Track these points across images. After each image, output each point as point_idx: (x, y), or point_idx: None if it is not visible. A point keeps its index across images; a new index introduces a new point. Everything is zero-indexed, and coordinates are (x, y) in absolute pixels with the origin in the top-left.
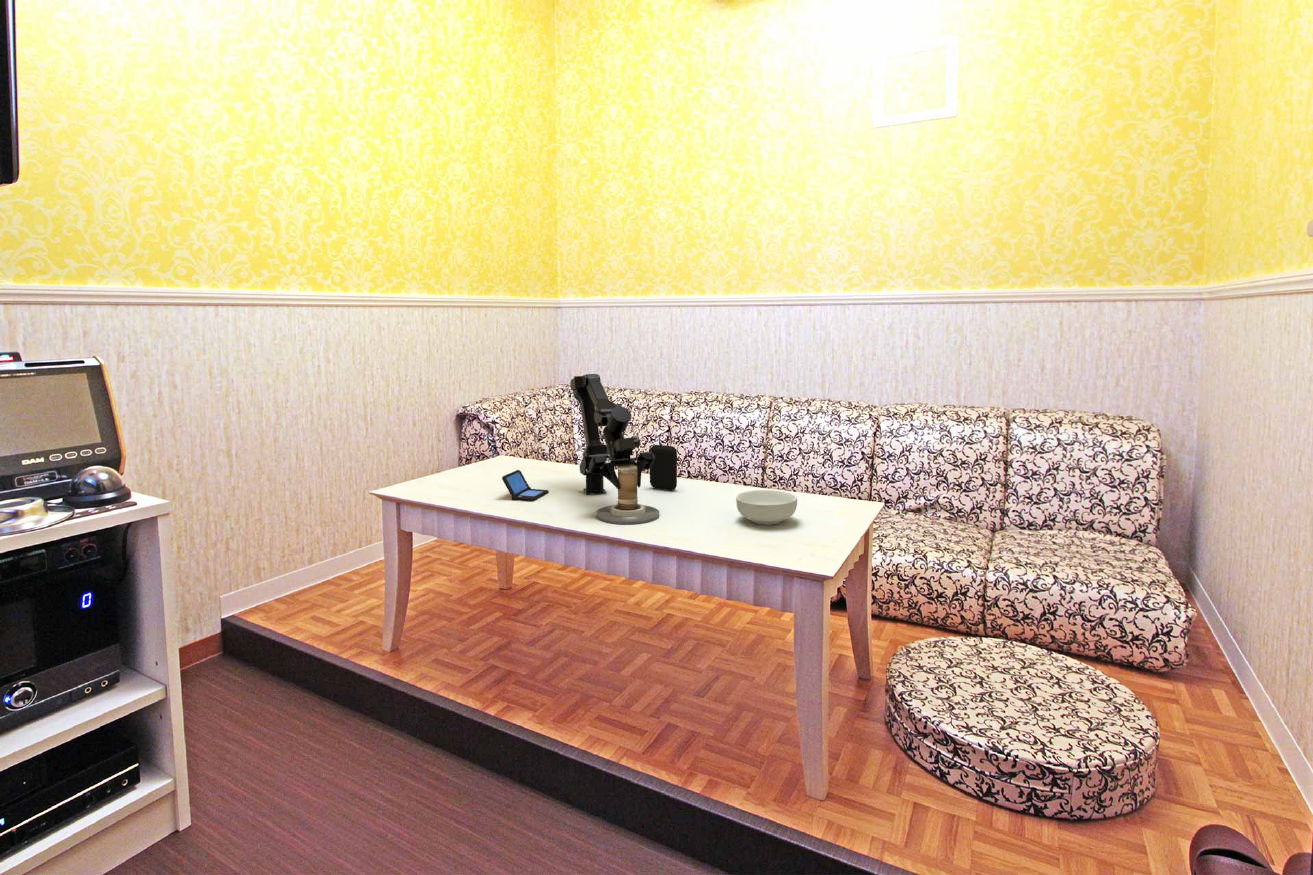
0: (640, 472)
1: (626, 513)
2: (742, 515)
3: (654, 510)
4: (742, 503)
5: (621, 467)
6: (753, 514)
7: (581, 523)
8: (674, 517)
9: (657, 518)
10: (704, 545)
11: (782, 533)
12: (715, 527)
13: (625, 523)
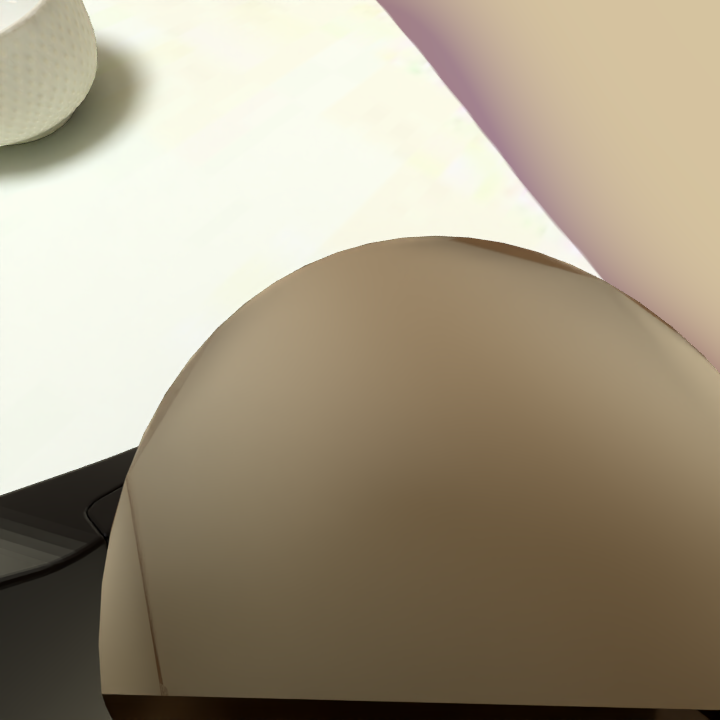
0: (131, 461)
1: None
2: (74, 105)
3: None
4: (55, 9)
5: (706, 603)
6: (92, 28)
7: None
8: (219, 309)
9: None
10: (371, 63)
11: (123, 30)
12: (211, 144)
13: None
